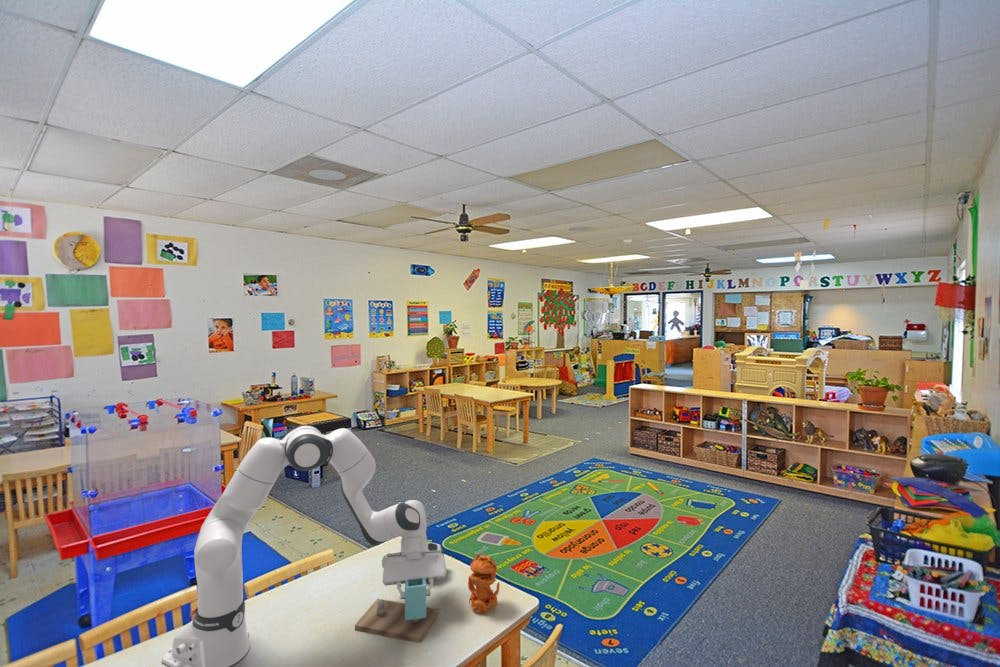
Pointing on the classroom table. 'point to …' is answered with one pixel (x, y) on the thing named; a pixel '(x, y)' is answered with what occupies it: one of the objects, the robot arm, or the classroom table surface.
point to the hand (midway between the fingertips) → (415, 597)
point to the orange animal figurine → (483, 583)
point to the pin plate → (395, 621)
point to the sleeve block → (415, 599)
